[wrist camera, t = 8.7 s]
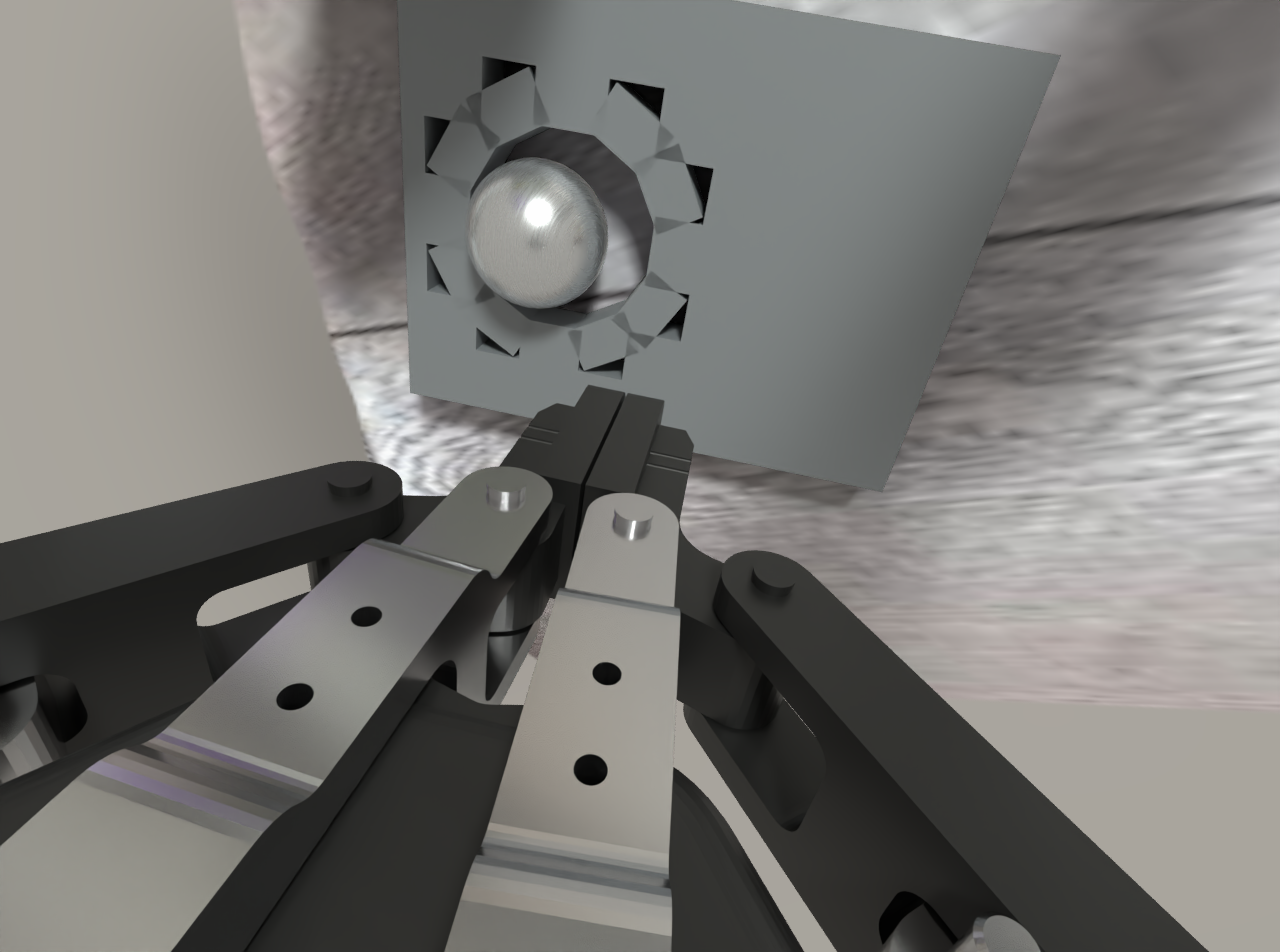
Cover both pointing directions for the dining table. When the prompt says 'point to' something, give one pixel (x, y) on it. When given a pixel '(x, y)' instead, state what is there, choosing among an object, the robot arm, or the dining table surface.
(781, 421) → the grey gear-hole plate
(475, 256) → the ball
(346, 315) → the dining table surface
